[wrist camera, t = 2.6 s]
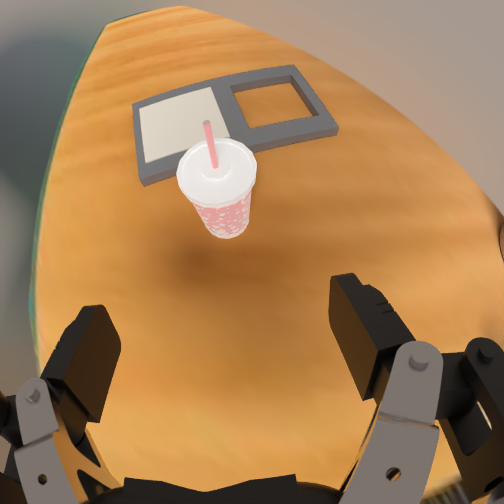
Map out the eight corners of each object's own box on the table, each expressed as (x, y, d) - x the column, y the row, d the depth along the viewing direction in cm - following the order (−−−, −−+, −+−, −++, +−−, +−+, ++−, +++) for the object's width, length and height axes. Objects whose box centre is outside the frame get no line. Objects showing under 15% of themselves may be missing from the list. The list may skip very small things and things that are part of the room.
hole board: (293, 72, 37) (294, 63, 35) (336, 135, 33) (339, 126, 31) (135, 110, 35) (131, 102, 33) (144, 186, 31) (139, 178, 29)
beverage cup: (230, 258, 28) (208, 180, 15) (185, 222, 29) (139, 134, 16) (269, 213, 29) (277, 116, 16) (224, 182, 31) (206, 81, 17)
